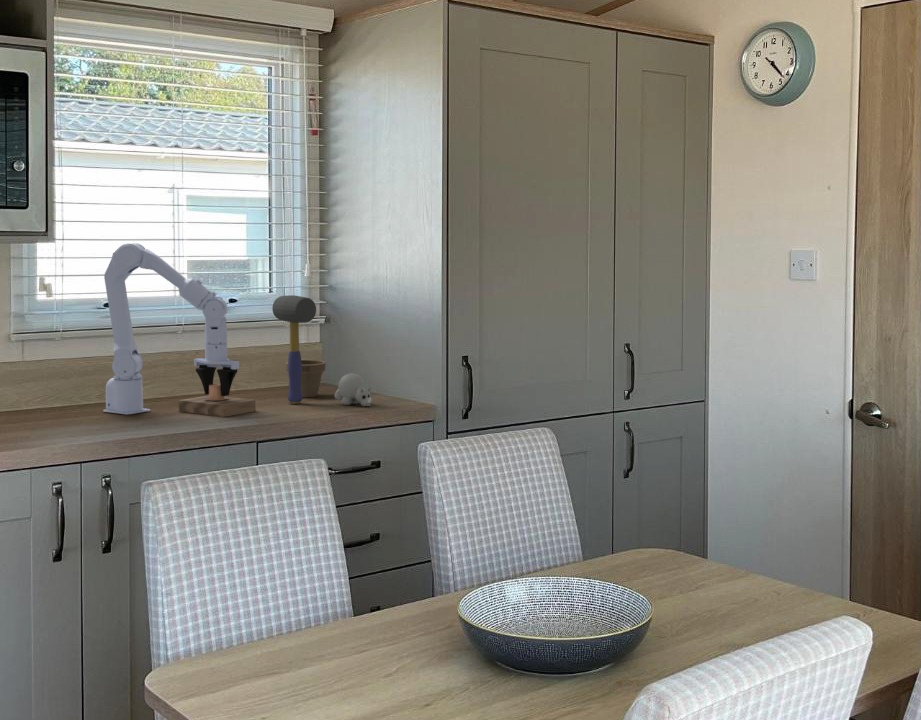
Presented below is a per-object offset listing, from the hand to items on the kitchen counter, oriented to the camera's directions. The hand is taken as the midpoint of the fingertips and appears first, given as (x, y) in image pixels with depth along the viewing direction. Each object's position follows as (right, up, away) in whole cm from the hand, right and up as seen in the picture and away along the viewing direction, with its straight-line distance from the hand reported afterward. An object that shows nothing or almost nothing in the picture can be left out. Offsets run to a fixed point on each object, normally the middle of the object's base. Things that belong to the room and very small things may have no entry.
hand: (216, 394), depth 298 cm
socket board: (0, -4, 0) cm, 4 cm away
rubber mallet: (+19, -3, +15) cm, 24 cm away
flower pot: (+20, -2, +30) cm, 36 cm away
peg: (0, -4, 0) cm, 4 cm away
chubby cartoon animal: (+35, -4, +12) cm, 38 cm away
